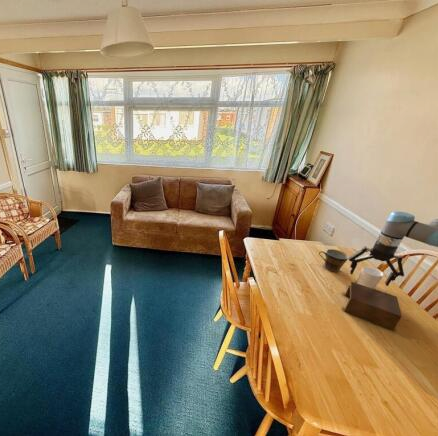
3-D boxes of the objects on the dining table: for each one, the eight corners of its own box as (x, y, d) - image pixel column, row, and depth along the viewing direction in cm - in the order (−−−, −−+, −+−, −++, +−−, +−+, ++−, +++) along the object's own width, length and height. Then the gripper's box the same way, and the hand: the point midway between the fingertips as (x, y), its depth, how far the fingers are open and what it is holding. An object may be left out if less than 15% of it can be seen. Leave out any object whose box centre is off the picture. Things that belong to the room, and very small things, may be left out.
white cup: (377, 288, 117) (385, 272, 113) (372, 294, 113) (380, 278, 109) (358, 279, 123) (365, 264, 119) (352, 285, 119) (360, 270, 115)
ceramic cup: (340, 266, 134) (347, 252, 130) (343, 275, 126) (350, 261, 122) (314, 259, 140) (319, 246, 136) (315, 268, 132) (320, 254, 128)
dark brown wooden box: (389, 309, 105) (397, 296, 101) (393, 330, 95) (402, 316, 91) (344, 293, 114) (350, 281, 110) (344, 311, 104) (350, 298, 101)
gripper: (353, 237, 112) (337, 272, 121) (428, 256, 97) (403, 293, 107) (353, 232, 117) (338, 265, 126) (424, 249, 103) (401, 285, 112)
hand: (368, 278), depth 116 cm, fingers open, 13 cm apart
